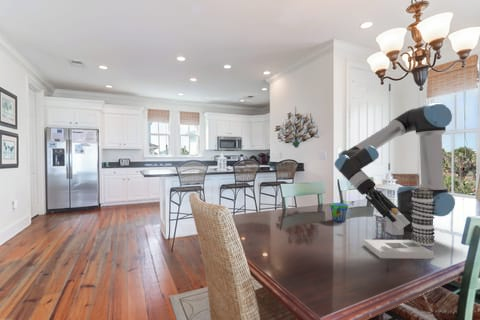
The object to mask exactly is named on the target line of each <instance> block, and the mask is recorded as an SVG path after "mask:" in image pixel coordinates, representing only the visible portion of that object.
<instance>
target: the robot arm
mask: <svg viewBox="0 0 480 320" xmlns="http://www.w3.org/2000/svg"><path fill="white" fill-rule="evenodd" d="M452 120H453V114H452V111H451V109H450V107H447V105H445V104H444V103H439V102H436V103H429V104H427V105H422V106H419V107H414V108H410V109H409V110H406V111H404V112H403V113H401V114H399V115H398V116H397V117H395V118H394V119H391V120H390V122H389V123H388V124H387V125H386V126H384V127H382V128H381V129H380V130H378V131H376V132H374V133H372V134H371V135H370V136H368V137H367V138H365V139H363V140H362V141H360V142H359V143H357V144H356V145H354V146H352V147H350V148H349V149H344V150H342V151H340V153H339V156H338V158H337V159H336V160H335V162H334V166H335V168H336V170H338V172H339V173H340V174H341V175H342V176H343V177H345V179H346V180H347V181H348V182H349V183H350V186H353V187H354V188H356V190H357V191H358V193H360V194H361V195H362V196H363V195H365V196H364V198H365V199H366V200H367V201H368V202H370V204H371V205H372V206H373V207H374V208H375V209H376V210H377V212H378V213H379V214H380V215H381V216H382V218H385V219H386V216H387V218H388V219H389V220H390V221H391V222H392V223H393V224H394V225H395V226H396V227H397V229H398V230H401V229H402V228H403V227H404V231H408V232H412V231H411V229H413V228H411V226H412V222H413V220H412V218H413V217H412V216H411V214H412V213H411V210H412V209H411V207H410V206H411V205H410V203H411V202H412V190H413V189H414V188H416V187H423V188H429V189H430V190H431V191H432V192H433V201H435V203H432V204H435V206H433V208H434V209H435V210H434V211H433V212H434V213H435V214H433V217H435V216H436V217H445V216H447V215H450V213H451V212H453V210H454V208H455V206H456V199H455V197H454V196H453V195H452V194H451V193H449V190H448V187H447V185H445V184H444V167H443V166H444V165H443V162H444V160H443V136H442V135H443V134H444V133H445V132H446V128H447V126H448V125H449V126H450V124H451V123H452ZM414 131H415V134H416V135H417V136H418V137H419V158H420V160H419V161H420V182H421V183H420V185H417V186H416V185H415V186H414V185H413V186H412V185H411V186H399V187H397V193H396V194H397V195H396V197H397V205H395V203H394V202H392V200H390V199H389V198H388V197H387V196H386V195H385V194H384V193H383V192H382V191H381V190H378V189H376V188H375V187H376V183H375V182H374V181H373V180H372V179H371V178H369V176H368V174H366V173H365V172H364V171H363V170H362V169H363V168H365V167H367V166H369V165H370V164H371V163H373V162H375V161H376V160H377V159H379V155H380V154H379V151H378V149H379V148H381V147H382V146H384V145H386V144H388V143H389V142H391V141H392V140H394V139H395V138H397V137H398V136H399V137H401V136H404V135H405V134H408V133H411V132H414ZM392 208H394V209H398V213H399V214H402V215H404V224H403V223H402V222H401V221H400V220H399V219H398V218H397V217H396V216H395V215H394V214H393V213H391V209H392ZM412 208H413V207H412ZM390 213H391V214H390Z"/></svg>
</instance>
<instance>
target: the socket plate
mask: <svg viewBox="0 0 480 320" xmlns="http://www.w3.org/2000/svg"><path fill="white" fill-rule="evenodd" d="M363 246H364V247H366V248H367V249H368V250H369V251H371V252H372V253H374V254H375V255H376V256H377V257H378V258H379V259H413V260H414V259H421V260H423V259H424V260H425V259H429V260H431V259H435V252H434V251H432V250H430V249H428V248H426V247H425V246H424V245H419V244H417V243H415V242H413V241H412V239H363Z"/></svg>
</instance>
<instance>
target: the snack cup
mask: <svg viewBox="0 0 480 320" xmlns="http://www.w3.org/2000/svg"><path fill="white" fill-rule="evenodd" d="M329 207H330V211H331V218H332V221H334V222H341V223H342V222H346V220H347V213H348V208H349V205H348V204H347V203H341V202H333V203H332V202H331V203H330V204H329Z"/></svg>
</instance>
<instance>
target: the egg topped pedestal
mask: <svg viewBox="0 0 480 320" xmlns="http://www.w3.org/2000/svg"><path fill="white" fill-rule="evenodd" d="M391 213H393V214H394V215H395V216H396V217H397V218H398V219H399V220H400V221H401V222H402V223H403V224H404V215H402V214H399V213H398V209H394V208H392V209H391ZM391 213H390V214H391ZM385 222H386V223H385V232H386V233H388V234H390V235H392V236H393V235H395V236H396V235H397V236H398V235H399V236H400V235H401V236H402V235H403V236H404V233H405V232H404V231H405V230H404V227H403V228H402V229H401V230H398V229H397V227H396V226H395V225H394V224H393V223H392V222H391V221H390V220H389V219H388V218H387V216H386V217H385Z"/></svg>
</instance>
